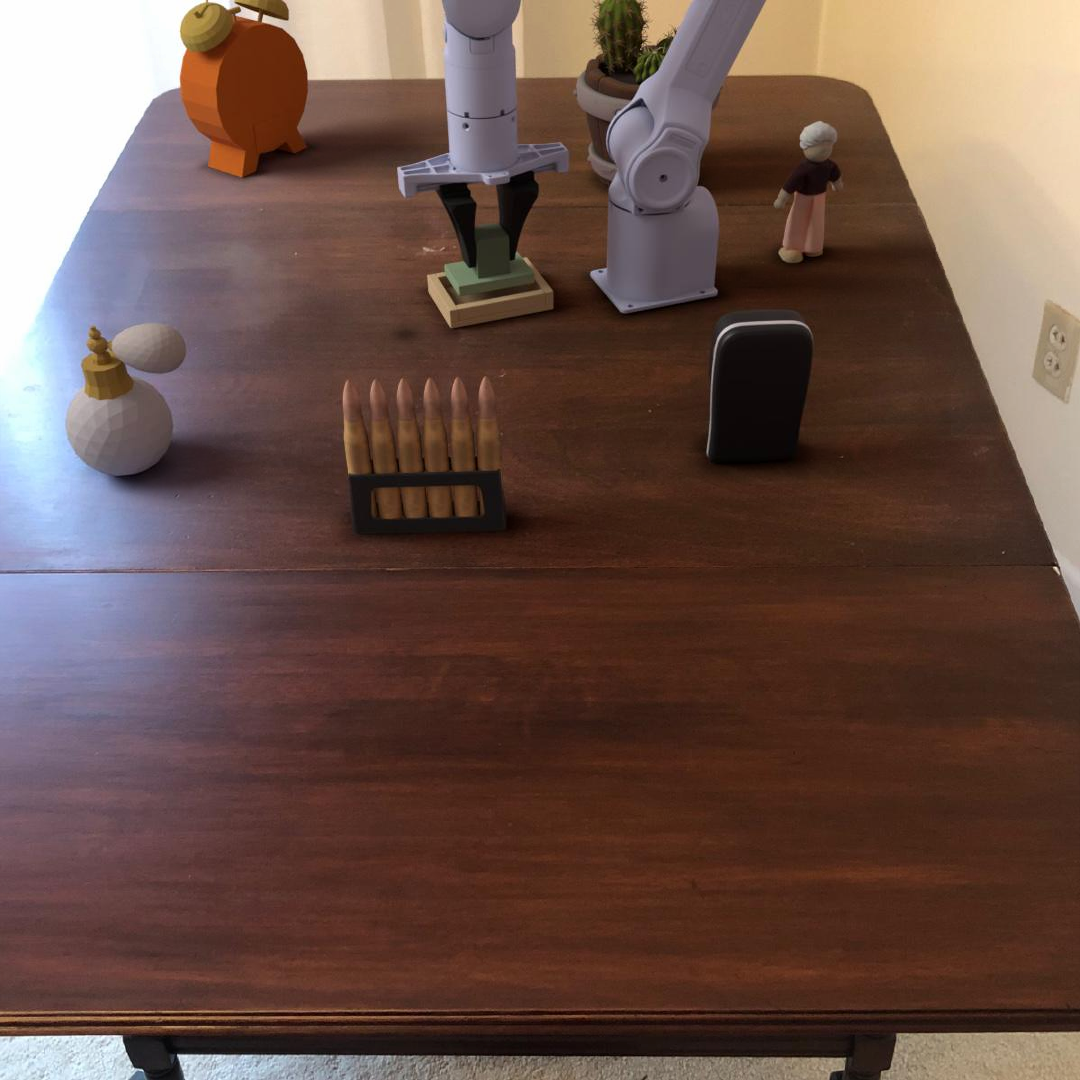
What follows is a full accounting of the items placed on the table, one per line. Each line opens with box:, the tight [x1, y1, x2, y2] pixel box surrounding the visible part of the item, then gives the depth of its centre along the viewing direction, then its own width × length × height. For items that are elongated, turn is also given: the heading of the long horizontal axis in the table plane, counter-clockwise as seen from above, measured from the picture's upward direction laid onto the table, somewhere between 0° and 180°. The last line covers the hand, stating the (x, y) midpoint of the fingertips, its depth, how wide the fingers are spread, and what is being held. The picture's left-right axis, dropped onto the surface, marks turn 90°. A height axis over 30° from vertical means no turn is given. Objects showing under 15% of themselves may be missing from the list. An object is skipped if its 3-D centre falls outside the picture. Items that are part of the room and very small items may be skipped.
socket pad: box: [426, 256, 554, 330], centre depth 110 cm, size 10×7×2 cm
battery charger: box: [705, 309, 814, 463], centre depth 89 cm, size 7×4×11 cm, turn 93°
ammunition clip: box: [342, 375, 507, 535], centre depth 82 cm, size 11×2×12 cm, turn 92°
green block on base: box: [443, 221, 534, 296], centre depth 108 cm, size 7×4×4 cm, turn 110°
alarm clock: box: [179, 0, 309, 179], centre depth 130 cm, size 13×6×20 cm, turn 144°
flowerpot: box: [572, 0, 723, 188], centre depth 125 cm, size 14×15×20 cm
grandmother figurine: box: [773, 120, 844, 264], centre depth 113 cm, size 8×4×13 cm, turn 131°
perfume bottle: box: [64, 322, 187, 477], centre depth 88 cm, size 8×10×12 cm
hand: (488, 259), depth 108 cm, fingers closed on green block on base, 3 cm apart
